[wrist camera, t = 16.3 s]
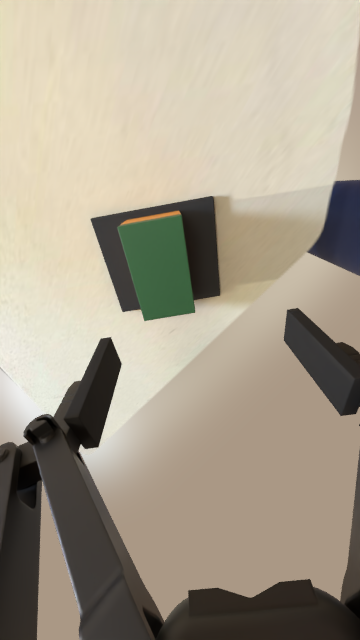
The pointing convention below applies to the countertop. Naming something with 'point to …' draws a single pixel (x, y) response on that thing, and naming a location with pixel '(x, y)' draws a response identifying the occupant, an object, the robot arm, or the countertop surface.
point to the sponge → (158, 264)
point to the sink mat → (198, 246)
